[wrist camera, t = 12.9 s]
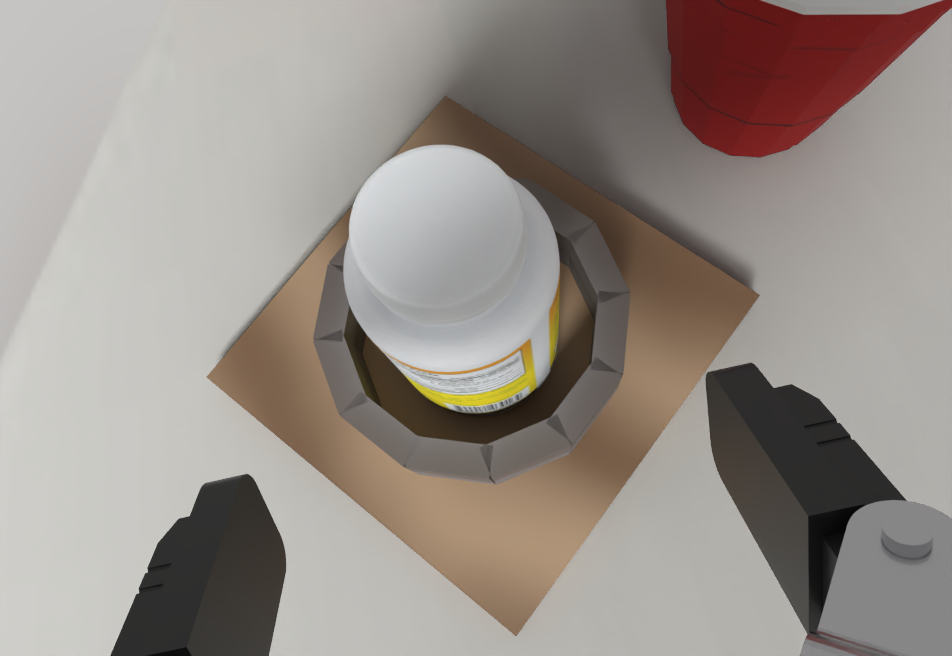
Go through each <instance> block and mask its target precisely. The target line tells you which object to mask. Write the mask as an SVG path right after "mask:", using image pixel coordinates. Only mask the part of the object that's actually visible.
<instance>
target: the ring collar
mask: <svg viewBox="0 0 952 656" xmlns="http://www.w3.org/2000/svg"><path fill="white" fill-rule="evenodd" d="M429 145H453V146H459V147H463V148H467V149H471V150H473V151H475V152H477V153H480V154H482V155H484V156H485V157H487V158H488V159H490V160H492V161H493V162H494V163H495V164H497V165H498V166H499V167H500V168H501V169H502V170H503V171H504V172H505V174H506V175H507V176H509V177H511V178H512V179H514V180H515V181H517V182H518V183H520V184H521V185H522V186H523V187H525V188H526V189H527V190H528V191H529V192H530V193H531V194H532V195H533V196H534V197H535V198H536V199H537V201H538V202H539V203H540V205H541V206H542V207H543V209H544V210H545V212H546V214H547V215H548V217H549V219H550V222H551V224H552V226H553V229H554V232H555V235H556V239H557V243H558V250H559V260H560V293H559V343H558V351H557V355H556V359H555V362H554V365H553V367H552V369H551V372H550V373H549V375H548V377H547V379H546V380H545V382H544V383H543V384H542V386H541V387H540V388H539V389H538V390H537V391H536V392H535V393H534V394H533V395H532V396H531V397H530V398H528V399H527V400H526V401H524V402H523V403H521V404H520V405H518V406H516V407H514V408H512V409H510V410H508V411H505V412H502V413H499V414H494V415H489V416H466V415H461V414H456V413H453V412H450V411H448V410H445V409H443V408H441V407H439V406H437V405H436V404H434V403H432V402H431V401H429V400H428V399H427V398H426V397H424V396H423V395H422V394H421V393H420V392H419V391H418V390H417V389H416V388H415V387H414V385H413V384H412V383H411V382H410V381H409V380H408V379H407V378H406V377H405V375H404V374H403V373H402V372H401V371H400V370H399V369H398V368H397V367H396V366H395V365H394V364H393V362H391V360H390V359H389V358H388V357H387V356H386V355H385V354H384V353H383V352H382V351H381V350H380V349H379V348H378V347H377V346H376V345H375V344H374V343H373V341H372V340H371V339H370V338H369V337H368V336H367V334H366V333H365V331H364V330H363V329H362V327H361V326H360V324H359V323H358V321H357V320H356V318H355V316H354V314H353V312H352V310H351V307H350V305H349V302H348V299H347V295H346V291H345V285H344V275H343V265H344V255H345V249H346V245H347V241H348V238H349V222H350V216H351V211H352V208H353V205H352V206H351V208H350V209H349V210H348V211H347V212H346V214H345V215H344V216H343V217H342V218H341V219H340V221H339V222H338V223H337V224H336V225H335V226H334V228H333V229H332V230H331V231H330V232H329V234H328V235H327V236H326V237H325V238H324V239H323V241H322V242H321V243H320V244H319V245H318V246H317V248H316V249H315V250H314V251H313V252H312V254H311V255H310V256H309V257H308V258H307V259H306V261H305V262H304V263H303V264H302V265H301V266H300V268H299V269H298V270H297V271H296V272H295V274H294V275H293V276H292V277H291V278H290V279H289V281H288V282H287V283H286V284H285V285H284V286H283V288H282V289H281V290H280V291H279V292H278V294H277V295H276V296H275V297H274V298H273V299H272V301H271V302H270V303H269V304H268V305H267V306H266V308H265V309H264V310H263V311H262V312H261V314H260V315H259V316H258V317H257V318H256V319H255V321H254V322H253V323H252V324H251V325H250V326H249V328H248V329H247V330H246V331H245V332H244V334H243V335H242V336H241V337H240V338H239V339H238V341H237V342H236V343H235V344H234V345H233V346H232V348H231V349H230V350H229V351H228V352H227V354H226V355H225V356H224V357H223V358H222V359H221V361H220V362H219V363H218V364H217V365H216V366H215V368H214V369H213V370H212V371H211V372H210V374H209V375H208V376H207V378H208V379H209V380H211V381H212V382H213V383H214V384H215V385H217V386H218V387H219V388H220V389H221V390H223V391H224V392H225V393H226V394H227V395H229V396H230V397H231V398H232V399H233V400H235V401H236V402H237V403H238V404H239V405H241V406H242V407H243V408H244V409H245V410H246V411H248V412H249V413H250V414H251V415H252V416H254V417H255V418H256V419H257V420H258V421H260V422H261V423H262V424H263V425H264V426H266V427H267V428H268V429H269V430H270V431H272V432H273V433H274V434H275V435H276V436H278V437H279V438H280V439H281V440H282V441H284V442H285V443H286V444H287V445H288V446H289V447H291V448H292V449H293V450H294V451H295V452H297V453H298V454H299V455H300V456H301V457H303V458H304V459H305V460H306V461H307V462H309V463H310V464H311V465H312V466H313V467H315V468H316V469H317V470H318V471H319V472H321V473H322V474H323V475H324V476H325V477H327V478H328V479H329V480H330V481H331V482H332V483H334V484H335V485H336V486H337V487H338V488H340V489H341V490H342V491H343V492H344V493H346V494H347V495H348V496H349V497H350V498H352V499H353V500H354V501H355V502H356V503H358V504H359V505H360V506H361V507H362V508H364V509H365V510H366V511H367V512H368V513H370V514H371V515H372V516H373V517H374V518H375V519H377V520H378V521H379V522H380V523H381V524H383V525H384V526H385V527H386V528H387V529H389V530H390V531H391V532H392V533H393V534H395V535H396V536H397V537H398V538H399V539H401V540H402V541H403V542H404V543H405V544H407V545H408V546H409V547H410V548H411V549H413V550H414V551H415V552H416V553H417V554H418V555H420V556H421V557H422V558H423V559H424V560H426V561H427V562H428V563H429V564H430V565H432V566H433V567H434V568H435V569H436V570H438V571H439V572H440V573H441V574H442V575H444V576H445V577H446V578H447V579H448V580H450V581H451V582H452V583H453V584H454V585H456V586H457V587H458V588H459V589H460V590H461V591H463V592H464V593H465V594H466V595H467V596H469V597H470V598H471V599H472V600H473V601H475V602H476V603H477V604H478V605H479V606H481V607H482V608H483V609H484V610H485V611H487V612H488V613H489V614H490V615H491V616H493V617H494V618H495V619H496V620H497V621H499V622H500V623H501V624H502V625H503V626H504V627H506V628H507V629H508V630H509V631H510V632H512V633H513V634H514V635H515V636H517V634H518V633H519V632H520V630H521V629H522V627H523V626H524V625H525V623H526V622H527V620H528V619H529V618H530V616H531V615H532V613H533V612H534V611H535V609H536V608H537V606H538V605H539V604H540V602H541V601H542V599H543V598H544V597H545V595H546V594H547V592H548V591H549V590H550V588H551V587H552V585H553V584H554V583H555V581H556V580H557V578H558V577H559V576H560V574H561V573H562V571H563V570H564V569H565V567H566V566H567V564H568V563H569V562H570V560H571V559H572V557H573V556H574V555H575V553H576V552H577V550H578V549H579V548H580V546H581V545H582V543H583V542H584V541H585V539H586V538H587V536H588V535H589V534H590V532H591V531H592V529H593V528H594V527H595V525H596V524H597V522H598V521H599V520H600V518H601V517H602V515H603V514H604V513H605V511H606V510H607V508H608V507H609V506H610V504H611V503H612V501H613V500H614V499H615V497H616V496H617V494H618V493H619V492H620V490H621V489H622V487H623V486H624V485H625V483H626V482H627V480H628V479H629V478H630V476H631V475H632V473H633V472H634V471H635V469H636V468H637V466H638V465H639V464H640V462H641V461H642V459H643V458H644V457H645V455H646V454H647V452H648V451H649V450H650V448H651V447H652V445H653V444H654V443H655V441H656V440H657V438H658V437H659V436H660V434H661V433H662V431H663V430H664V429H665V427H666V426H667V424H668V423H669V422H670V420H671V419H672V417H673V416H674V415H675V413H676V412H677V410H678V409H679V408H680V406H681V405H682V403H683V402H684V401H685V399H686V398H687V396H688V395H689V394H690V392H691V391H692V389H693V388H694V387H695V385H696V384H697V382H698V381H699V380H700V378H701V377H702V375H703V374H704V373H705V371H706V370H707V368H708V367H709V366H710V364H711V363H712V361H713V360H714V359H715V357H716V356H717V354H718V353H719V352H720V350H721V349H722V347H723V346H724V345H725V343H726V342H727V340H728V339H729V338H730V336H731V335H732V333H733V332H734V331H735V329H736V328H737V326H738V325H739V324H740V322H741V321H742V319H743V318H744V317H745V315H746V314H747V312H748V311H749V310H750V308H751V307H752V305H753V304H754V303H755V301H756V300H757V298H758V297H759V296H760V295H759V294H757V293H756V292H754V291H753V290H751V289H749V288H748V287H746V286H745V285H743V284H742V283H740V282H738V281H737V280H735V279H734V278H732V277H730V276H729V275H727V274H726V273H724V272H723V271H721V270H719V269H718V268H716V267H715V266H713V265H712V264H710V263H708V262H707V261H705V260H704V259H702V258H701V257H699V256H697V255H696V254H694V253H693V252H691V251H689V250H688V249H686V248H685V247H683V246H682V245H680V244H678V243H677V242H675V241H674V240H672V239H671V238H669V237H667V236H666V235H664V234H663V233H661V232H660V231H658V230H656V229H655V228H653V227H652V226H650V225H648V224H647V223H645V222H644V221H642V220H641V219H639V218H637V217H636V216H634V215H633V214H631V213H630V212H628V211H626V210H625V209H623V208H622V207H620V206H618V205H617V204H615V203H614V202H612V201H611V200H609V199H607V198H606V197H604V196H603V195H601V194H600V193H598V192H596V191H595V190H593V189H592V188H590V187H589V186H587V185H585V184H584V183H582V182H581V181H579V180H577V179H576V178H574V177H573V176H571V175H570V174H568V173H566V172H565V171H563V170H562V169H560V168H559V167H557V166H555V165H554V164H552V163H551V162H549V161H548V160H546V159H544V158H543V157H541V156H540V155H538V154H536V153H535V152H533V151H532V150H530V149H529V148H527V147H525V146H524V145H522V144H521V143H519V142H518V141H516V140H514V139H513V138H511V137H510V136H508V135H506V134H505V133H503V132H502V131H500V130H499V129H497V128H495V127H494V126H492V125H491V124H489V123H488V122H486V121H484V120H483V119H481V118H480V117H478V116H477V115H475V114H473V113H472V112H470V111H469V110H467V109H465V108H464V107H462V106H461V105H459V104H458V103H456V102H454V101H453V100H451V99H450V98H448V97H447V96H445V97H444V98H443V99H442V101H441V102H440V103H439V104H438V105H437V106H436V108H435V109H434V110H433V111H432V112H431V113H430V115H429V116H428V117H427V118H426V119H425V121H424V122H423V123H422V124H421V125H420V126H419V128H418V129H417V130H416V131H415V132H414V133H413V135H412V136H411V137H410V138H409V139H408V141H407V142H406V143H405V144H404V145H403V146H402V148H401V149H400V150H399V151H398V152H397V153H396V155H395V156H397V155H399V154H401V153H403V152H406V151H408V150H411V149H414V148H418V147H422V146H429ZM395 156H394V157H395Z"/></svg>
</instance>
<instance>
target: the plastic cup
mask: <svg viewBox="0 0 952 656" xmlns="http://www.w3.org/2000/svg"><path fill="white" fill-rule="evenodd" d="M951 8H952V0H666V10H667V31H668V49H669V52H670V54H671V92H672V95H673V97H674V102H675V104H676V107H677V109H678V112H679V114H680V117H681V119H682V122H683V124H684V125H685V126H686V127H687V128H688V129H689V130H690V131H691V132H692V133H693V134H694V135H695V136H696V137H697V138H698V139H699V140H700V141H701V142H702V143H703V144H705V145H708V146H710V147H712V148H715V149H717V150H719V151H721V152H724V153H726V154H728V155H734V156H749V157H763V156H766V155H770V154H773V153H777V152H780V151H784V150H787V149H789V148H791V147H792V146H793V145H797V144H798V143H800V142H801V141H802V140H803V139H805V138H806V137H807V136H809V135H810V134H811V133H812V132H814V131H815V130H816V129H818V128H819V127H820V126H821V125H822V124H823V123H825V122H826V121H827V120H828V119H829V118H830V117H831V116H832V115H833V114H834V113H835V112H836V111H837V110H838V109H840V108H841V107H842V106H843V105H845V104H846V103H847V102H849V101H850V100H851V99H852V98H854V97H855V96H856V95H858V94H859V93H860V92H861V91H863V90H864V89H865V88H866V87H867V86H868V85H869V84H870V83H871V82H872V81H873V80H874V79H875V78H876V77H877V76H878V75H880V74H881V73H882V72H883V71H884V70H885V69H886V68H887V67H888V66H889V65H890V64H891V63H892V62H893V61H894V60H895V59H897V58H898V57H899V56H900V55H901V54H902V53H903V52H904V51H905V50H906V49H907V48H908V47H909V46H910V45H911V44H912V43H914V42H915V41H916V40H917V39H918V38H919V37H920V36H921V35H922V34H923V33H924V32H925V31H926V30H927V29H928V28H929V27H930V26H932V25H933V24H934V23H935V22H936V21H937V20H938V19H939V18H940V17H941V16H942V15H943V14H944V13H946V12H947V11H948V10H949V9H951Z"/></svg>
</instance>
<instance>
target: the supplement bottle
mask: <svg viewBox="0 0 952 656" xmlns="http://www.w3.org/2000/svg"><path fill="white" fill-rule="evenodd" d="M343 275H344V285H345V291H346V295H347V299H348V302H349V305H350V307H351V310H352V312H353V314H354V316H355V318H356V320H357V321H358V323H359V324H360V326H361V327H362V329H363V330H364V331H365V333H366V334H367V336H368V337H369V338H370V339H371V340H372V341H373V343H374V344H375V345H376V346H377V347H378V348H379V349H380V350H381V351H382V352H383V353H384V354H385V355H386V356H387V357H388V358H389V359H390V360H391V362H393V364H394V365H395V366H396V367H397V368H398V369H399V370H400V371H401V372H402V373H403V374H404V375H405V377H406V378H407V379H408V380H409V381H410V382H411V383H412V384H413V385H414V387H415V388H416V389H417V390H418V391H419V392H420V393H421V394H422V395H423V396H424V397H426V398H427V399H428V400H429V401H431V402H432V403H434V404H436V405H437V406H439V407H441V408H443V409H445V410H448V411H450V412H453V413H456V414H461V415H466V416H489V415H494V414H499V413H502V412H505V411H508V410H510V409H512V408H514V407H516V406H518V405H520V404H521V403H523V402H524V401H526V400H527V399H528V398H530V397H531V396H532V395H533V394H534V393H535V392H536V391H537V390H538V389H539V388H540V387H541V386H542V384H543V383H544V382H545V380H546V379H547V377H548V375H549V373H550V372H551V369H552V367H553V365H554V362H555V359H556V355H557V351H558V343H559V293H560V260H559V250H558V243H557V239H556V235H555V232H554V229H553V226H552V224H551V222H550V219H549V217H548V215H547V214H546V212H545V210H544V209H543V207H542V206H541V205H540V203H539V202H538V201H537V199H536V198H535V197H534V196H533V195H532V194H531V193H530V192H529V191H528V190H527V189H526V188H525V187H523V186H522V185H521V184H520V183H518V182H517V181H515V180H514V179H512V178H511V177H509V176H507V175H506V174H505V172H504V171H503V170H502V169H501V168H500V167H499V166H498V165H497V164H495V163H494V162H493V161H492V160H490V159H488V158H487V157H485V156H484V155H482V154H480V153H477V152H475V151H473V150H471V149H467V148H463V147H459V146H453V145H429V146H422V147H418V148H414V149H411V150H408V151H406V152H403V153H401V154H399V155H397V156H395V157H393V158H391V159H390V160H388V161H387V162H386V163H384V164H383V165H382V166H380V167H379V168H378V169H377V170H376V171H375V172H374V173H373V174H372V175H371V176H370V177H369V178H368V179H367V181H366V182H365V183H364V185H363V186H362V188H361V190H360V191H359V193H358V195H357V197H356V199H355V202H354V204H353V208H352V211H351V216H350V222H349V238H348V241H347V245H346V249H345V255H344V265H343Z"/></svg>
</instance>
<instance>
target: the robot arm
mask: <svg viewBox="0 0 952 656" xmlns="http://www.w3.org/2000/svg"><path fill="white" fill-rule="evenodd" d="M706 392H707V403H708V415H709V427H710V439H711V447H712V453H713V457H714V461H715V464H716V467H717V470H718V472H719V475H720V477H721V479H722V481H723V483H724V485H725V487H726V488H727V490H728V492H729V494H730V496H731V497H732V499H733V501H734V503H735V505H736V506H737V508H738V510H739V512H740V514H741V515H742V517H743V519H744V521H745V522H746V524H747V526H748V528H749V530H750V531H751V533H752V535H753V537H754V539H755V540H756V542H757V544H758V546H759V548H760V549H761V551H762V553H763V555H764V557H765V558H766V560H767V562H768V564H769V566H770V567H771V569H772V571H773V573H774V575H775V576H776V578H777V580H778V582H779V583H780V585H781V587H782V589H783V591H784V592H785V594H786V596H787V598H788V600H789V601H790V603H791V605H792V607H793V609H794V610H795V612H796V614H797V616H798V618H799V619H800V621H801V623H802V625H803V627H804V628H805V630H806V632H807V634H808V635H807V637H806V639H805V641H804V644H803V647H802V650H801V654H800V656H952V519H951V518H950V517H948V516H947V515H945V514H944V513H942V512H940V511H938V510H936V509H934V508H931V507H929V506H926V505H923V504H919V503H915V502H909V501H906V499H905V498H904V497H903V496H902V495H901V494H900V492H899V491H898V490H897V489H896V488H895V487H894V485H893V484H892V483H891V482H890V481H889V480H888V479H887V477H886V476H885V475H884V474H883V473H882V472H881V470H880V469H879V468H878V467H877V466H876V465H875V463H874V462H873V461H872V460H871V459H870V458H869V456H868V455H867V454H866V453H865V452H864V451H863V450H862V448H861V447H860V446H859V445H858V444H857V443H856V441H855V440H852V439H851V437H850V434H849V433H848V432H847V431H846V430H845V429H844V428H843V426H842V425H841V424H840V423H837V421H836V418H835V417H834V416H833V415H832V414H831V412H830V411H829V410H828V409H827V408H826V407H825V405H824V404H823V403H822V402H821V401H820V400H819V399H818V398H816V397H814V396H812V395H811V394H809V393H807V392H805V391H803V390H801V389H799V388H797V387H796V386H794V385H792V384H791V385H786V386H782V387H777V388H773V387H772V386H771V384H770V383H769V382H768V381H767V379H766V378H765V377H764V376H763V374H762V373H761V372H760V370H759V369H758V368H757V367H756V366H755V365H754V364H753V363H747V364H743V365H738V366H734V367H729V368H725V369H720V370H716V371H711V372H708V373H707V375H706ZM285 573H286V555H285V549H284V544H283V541H282V538H281V536H280V533H279V531H278V529H277V527H276V525H275V523H274V521H273V518H272V516H271V514H270V512H269V510H268V508H267V506H266V504H265V501H264V499H263V497H262V495H261V493H260V491H259V489H258V486H257V484H256V482H255V481H254V479H253V478H252V477H251V476H250V475H248V474H244V475H240V476H235V477H231V478H226V479H222V480H218V481H213V482H209V483H205V484H204V485H203V486H202V487H201V489H200V491H199V494H198V496H197V499H196V502H195V504H194V507H193V509H192V512H191V514H190V516H189V517H185V518H180V519H178V520H177V522H176V523H175V524H174V525H173V526H172V527H171V529H170V530H169V531H168V532H167V533H166V534H165V536H164V537H163V538H162V539H161V540H160V541H159V543H158V544H157V547H156V549H155V552H154V554H153V556H152V559H151V561H150V563H149V566H148V573H145V575H144V578H143V580H142V582H141V585H140V587H139V594H136V596H135V599H134V601H133V604H132V606H131V608H130V611H129V613H128V615H127V618H126V620H125V622H124V625H123V627H122V630H121V632H120V634H119V637H118V639H117V641H116V644H115V646H114V649H113V651H112V653H111V656H269V652H270V647H271V642H272V637H273V632H274V627H275V622H276V617H277V612H278V608H279V603H280V598H281V593H282V588H283V583H284V578H285Z"/></svg>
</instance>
